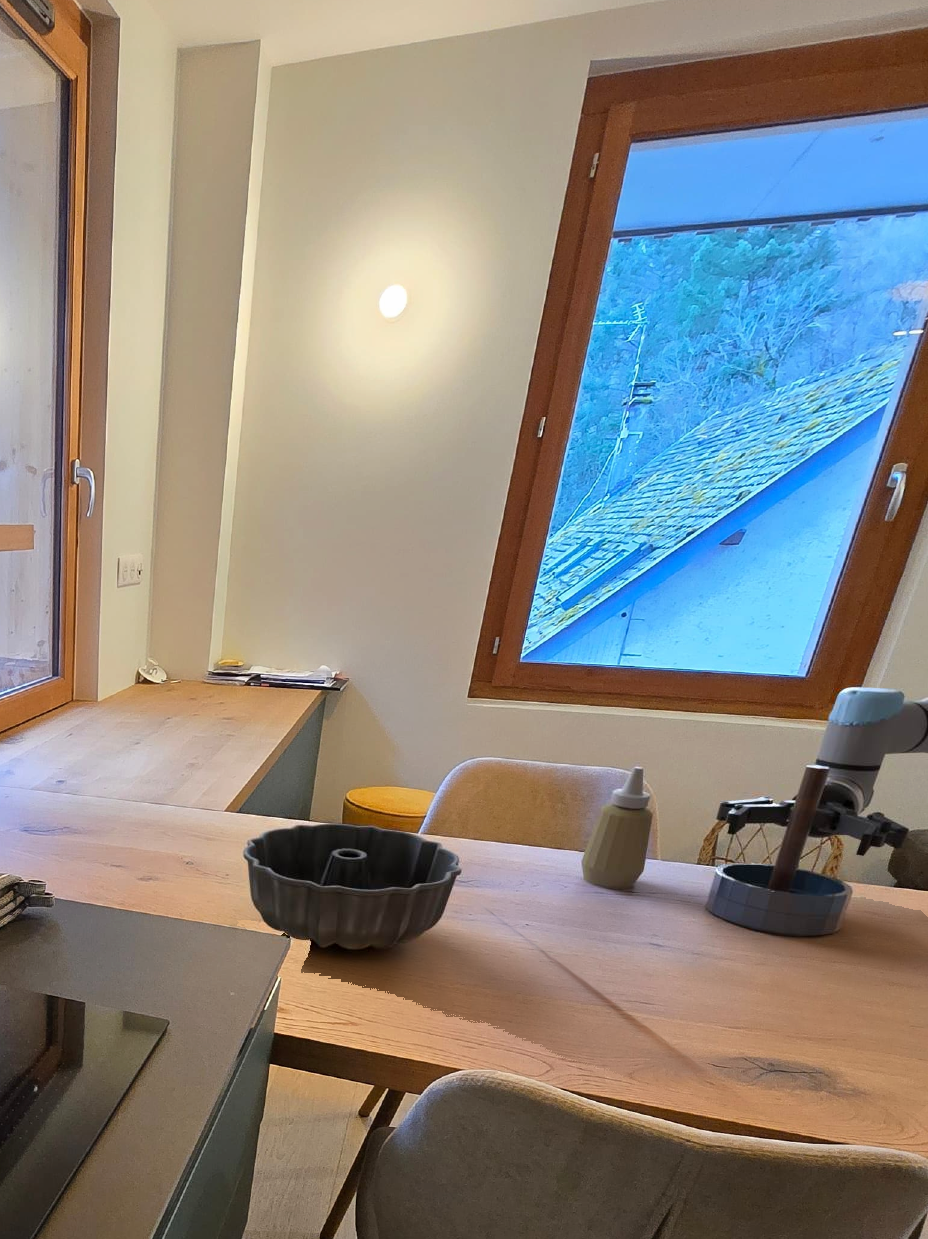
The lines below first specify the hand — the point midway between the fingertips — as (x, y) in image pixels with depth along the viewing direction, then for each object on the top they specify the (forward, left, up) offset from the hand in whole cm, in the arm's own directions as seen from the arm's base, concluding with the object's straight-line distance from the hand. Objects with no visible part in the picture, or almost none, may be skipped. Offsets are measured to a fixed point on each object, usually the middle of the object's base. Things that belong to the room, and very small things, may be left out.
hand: (795, 834), depth 123 cm
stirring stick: (+1, -1, -12) cm, 12 cm away
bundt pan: (-1, +58, -12) cm, 59 cm away
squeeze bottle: (+15, +13, -13) cm, 24 cm away
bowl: (+1, -1, -12) cm, 13 cm away
